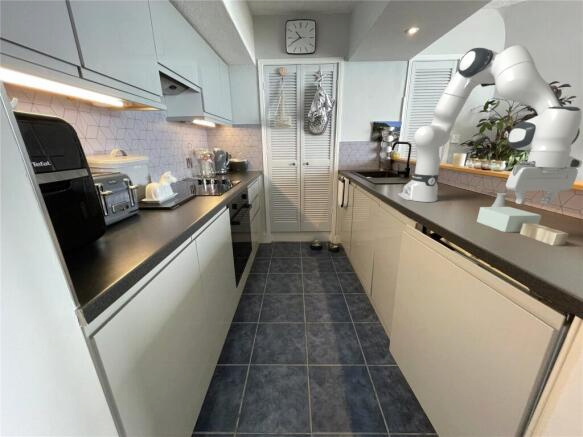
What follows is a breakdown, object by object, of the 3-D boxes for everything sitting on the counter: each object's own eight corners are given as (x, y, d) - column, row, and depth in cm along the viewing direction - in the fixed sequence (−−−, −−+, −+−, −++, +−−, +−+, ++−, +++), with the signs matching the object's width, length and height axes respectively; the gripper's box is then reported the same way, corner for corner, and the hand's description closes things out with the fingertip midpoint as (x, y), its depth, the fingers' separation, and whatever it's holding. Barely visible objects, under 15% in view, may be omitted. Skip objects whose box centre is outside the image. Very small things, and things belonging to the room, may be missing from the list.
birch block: (519, 234, 81) (552, 246, 72) (522, 223, 80) (556, 233, 71) (530, 234, 82) (564, 245, 72) (533, 223, 81) (568, 233, 71)
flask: (507, 219, 97) (514, 196, 94) (485, 216, 101) (491, 193, 98) (506, 215, 102) (512, 193, 99) (484, 212, 107) (490, 191, 104)
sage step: (476, 221, 94) (480, 207, 92) (504, 221, 95) (508, 206, 93) (504, 232, 83) (509, 215, 81) (536, 231, 83) (541, 215, 82)
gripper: (526, 161, 71) (513, 206, 75) (587, 162, 72) (571, 205, 77) (506, 160, 77) (495, 201, 81) (563, 160, 79) (549, 200, 83)
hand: (532, 203), depth 79 cm, fingers open, 8 cm apart
